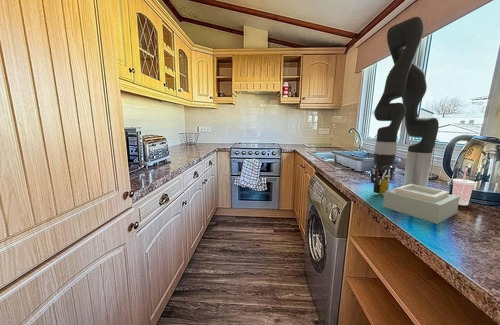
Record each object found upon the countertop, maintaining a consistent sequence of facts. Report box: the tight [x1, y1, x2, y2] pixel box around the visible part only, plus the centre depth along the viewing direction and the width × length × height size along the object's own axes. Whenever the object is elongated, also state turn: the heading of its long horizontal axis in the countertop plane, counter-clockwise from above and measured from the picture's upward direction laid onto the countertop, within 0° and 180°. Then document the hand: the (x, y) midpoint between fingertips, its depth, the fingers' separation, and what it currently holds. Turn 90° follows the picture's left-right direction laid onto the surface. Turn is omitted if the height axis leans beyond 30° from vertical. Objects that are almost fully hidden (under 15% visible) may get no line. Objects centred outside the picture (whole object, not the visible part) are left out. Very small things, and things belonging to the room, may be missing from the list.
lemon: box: [373, 178, 390, 196], centre depth 91 cm, size 6×6×8 cm
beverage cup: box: [451, 167, 476, 206], centre depth 81 cm, size 6×6×14 cm
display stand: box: [382, 184, 460, 225], centre depth 75 cm, size 16×16×7 cm
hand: (380, 191), depth 91 cm, fingers closed on lemon, 5 cm apart
